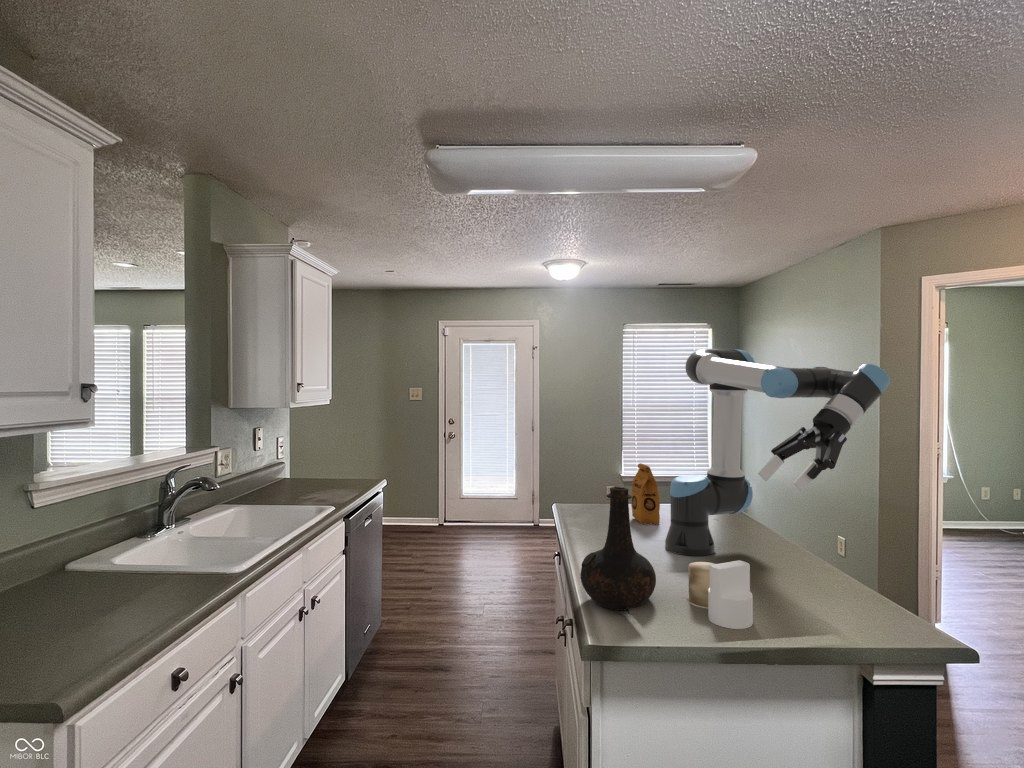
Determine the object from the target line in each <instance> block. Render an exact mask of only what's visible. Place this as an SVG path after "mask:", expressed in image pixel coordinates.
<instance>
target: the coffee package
mask: <svg viewBox="0 0 1024 768" xmlns="http://www.w3.org/2000/svg"><path fill="white" fill-rule="evenodd" d="M637 468H638V471H637V472H636V474H635V475H634V477H633V480H632V481H631V496H632V498H631V502H630V505H631V510H632V511H631V514H632V517H633V518H634V519H635V520H637V521H638V522H639V523H640V524H641V525H648V524H649V525H660V524H659V523H660V521H661V520H660V519H661V517H660V507H661V503H660V494H659V489H658V485H657V481H656V479H655V477H654V474H653V471H652V469H651V467H650V466H649V465H647V464H644V463H642V462H641V463H638V464H637Z"/></svg>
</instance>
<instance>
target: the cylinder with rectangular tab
mask: <svg viewBox="0 0 1024 768" xmlns="http://www.w3.org/2000/svg"><path fill="white" fill-rule="evenodd" d="M750 566H751V565H750V563H748V562H746V561H743V560H740V559H739V560H733V561H728V562H721V563H714V565H710V588H709V589H708V609H707V611H708V612H707V613H708V614H707V618H708V617H709V619H708V621H709V622H711V623H712V622H713V623H712V624H714V625H717V626H719V627H723V628H726V629H727V628H728V629H733V630H744V629H748V628H750V627H752V626H753V623H754V619H753V618H754V609H753V604H754V602H753V601H754V600H753V598H754V597H753V593H752V592H751V588H750V587H751V570H750V569H751V567H750Z"/></svg>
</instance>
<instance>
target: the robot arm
mask: <svg viewBox="0 0 1024 768" xmlns="http://www.w3.org/2000/svg"><path fill="white" fill-rule="evenodd" d="M685 372H686V376H687V377H688V378H689V379H690V380H691V381H692V382H694V383H695V384H697V385H698V384H699V385H708V386H709V391H710V392H711V393H712V394H713V422H712V423H713V424H712V425H713V426H712V428H713V429H712V430H713V431H712V432H713V433H712V462H711V463H712V466H711V468H709V469H708V470H707V471H706V475H704V474H698V473H697V474H694V473H693V474H684V475H679V476H677V477H674V478H673V479H672V480H671V482H670V487H669V489H670V491H669V495H670V526H669V529H668V530H667V531H668V532H667V534H666V537H665V542H664V543H665V544H664V547H665V549H666V550H667V551H669V552H671V553H674V554H678V555H684V556H693V557H694V556H695V557H700V556H709V555H712V554H714V553H715V547H716V546H715V542H714V539H713V536H712V533H711V530H710V527H709V517H710V516H716V515H717V516H718V515H735V514H738V513H742V512H744V511H746V510H747V509H748V508H749V507H750V506H751V503H752V500H753V496H754V495H753V488H752V486H751V483H750V481H749V480H748V479H747V478H746V473H745V472H743V470H742V469H741V450H742V449H741V448H742V418H743V417H742V415H743V411H742V410H743V396H744V395H745V394H746V393H747V392H748V390H749V391H753V392H759V393H763V394H765V395H766V396H767V397H770V398H774V399H786V398H787V399H788V398H792V399H793V398H828V399H829V400H828V401H827V402H826V404H824V405H823V408H821V409H820V410H819V411H818V413H816V415H815V416H814V417H812V424H813V425H812V427H811V428H809V429H806V427H804V426H801V427H800V428H799V429H798V430H797V431H796V432H795V433H793V434H792V435H790V436H789V437H788V438H786V439H785V440H783V441H782V442H780V443H778V444H777V445H776V446H775V447H773V448H772V449H771V450H770V452H771V453H772V454H773V456H772V457H771V458H770V459H769V461H768V462H766V464H765V465H764V466H763V467H762V468H761V469H760V470H759V471H758V473H757V474H758V476H760V478H762V480H764V482H768V481H769V480H770V479H771V478H772V476H773V475H774V474H775V473H776V472H777V471H778V470H779V469H780V467H782V465H783V464H784V463H785V460H787V459H789V458H791V457H793V456H794V455H796V454H798V453H800V452H801V451H804V450H810V449H816V450H815V458H813V459H812V461H811V462H809V464H808V465H807V466H806V467H805V468H804V470H802V472H801V473H800V474H799V475H798V476H797V477H796V478H795V479H794V481H793V482H792V484H793V486H794V485H795V487H796V489H798V490H799V491H800V492H804V491H805V490H807V487H808V486H809V485H810V484H811V483H812V482H813V481H814V480H815V479H817V477H818V476H819V475H820V474H821V473H822V471H826V470H827V469H829V470H833V469H835V467H836V465H837V462H838V459H839V457H840V454H841V452H842V448H843V445H845V443H846V442H847V441H848V438H847V436H846V435H847V433H849V431H850V430H851V428H852V427H853V426H854V425H855V424H856V423H857V422H858V421H859V419H860V418H861V417H862V416H863V415H864V414H865V413H866V412H867V411H868V410H869V408H870V407H871V406H872V405H873V404H875V402H876V401H877V400H878V399H879V398H880V397H881V396H882V395H883V393H884V392H885V390H886V389H887V388H888V386H890V384H891V378H890V376H889V374H888V373H887V371H886V370H884V369H883V368H881V367H880V366H878V365H875V364H873V363H864V364H861V365H860V366H859V367H858V368H856V369H855V370H854V371H851V370H850V371H849V370H842V369H836V368H828V366H827V367H826V366H810V367H807V368H805V367H784V366H777V365H771V364H762V363H756V361H755V359H754V357H753V356H751V353H750V352H748V351H746V350H743V349H736V348H702V349H698V350H696V351H694V352H692V353H691V354H690V355H689V356H688V358H687V359H686V361H685Z"/></svg>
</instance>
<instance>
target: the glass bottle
mask: <svg viewBox="0 0 1024 768" xmlns="http://www.w3.org/2000/svg"><path fill="white" fill-rule="evenodd" d="M609 490H610V492H609V493H607V494H606V496H605V497H606V498H608V499H610V500H609V516H608V517H609V518H608V526H607V535H606V538H605V543H604V546H603V548H602V549H600V550H597V551H594V552H590V553H588V554H587V555H586V556H585V557H584V558H583V560H582V562H581V569H580V581H581V586H582V587H583V589H584V591H585V593H586V594H587V595H588V597H590V599H592V600H593V601H594V602H595V603H597V605H599V606H602V607H604V608H607V609H610V610H614V611H629V609H632V608H636V607H637V608H638V607H639V606H642V605H643V604H645V603H646V602H647V601H648V600H649V599H650V597H651V596H652V595H653V593H654V591H655V588H656V585H657V584H656V583H657V577H656V576H657V575H656V572H655V568H654V567H653V565H652V563H651V562H650V561H649V560H648V559H647V558H646V557H645V556H643V555H642V554H641V553H639V552H638V551H636V549H635V547H634V543H633V537H632V529H631V519H630V508H629V500H632V494H629V488H627V487H619V486H612V487H610V488H609Z"/></svg>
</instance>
